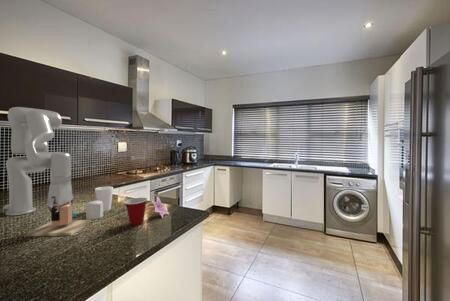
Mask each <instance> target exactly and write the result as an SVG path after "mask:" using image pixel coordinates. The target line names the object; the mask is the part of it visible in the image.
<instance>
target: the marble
mask: <svg viewBox="0 0 450 301" xmlns="http://www.w3.org/2000/svg"><path fill="white" fill-rule="evenodd" d="M75 217H77V212H76V211H73V210H72V219H73V218H75Z"/></svg>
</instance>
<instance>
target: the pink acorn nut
mask: <svg viewBox="0 0 450 301" xmlns="http://www.w3.org/2000/svg"><path fill="white" fill-rule="evenodd" d="M55 208H57V207H55ZM58 212H60V220H59V221H51V220H50V222H51V224H52V225H53V226H57V225H64V224H68V223H70V222H72V220H73V218H72V212H73V205H72V206H71V204H70V203H66V204H63V205H61V206H60V208H59V211H58Z"/></svg>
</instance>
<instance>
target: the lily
mask: <svg viewBox="0 0 450 301" xmlns="http://www.w3.org/2000/svg"><path fill="white" fill-rule="evenodd" d="M151 202H152V204H153V205H154V207H155V208H154V211H153V213H152V216H154V214H155V213H159V215H160V216H161V218H162V219H163V218H164V214H166V215H170V213H169V211H168V209H166V208H165V205H166V204H164V203H162V202H161V199H160V197H159V196H156V201H154V200H152V201H151Z"/></svg>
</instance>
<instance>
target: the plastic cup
mask: <svg viewBox="0 0 450 301" xmlns="http://www.w3.org/2000/svg"><path fill="white" fill-rule="evenodd" d="M147 201H148V197H136V198H135V197H134V198H130V199H127V200H125V201H124V202H123V204H124V205H125V207H126V211H127V214H128V219H129V224H130V225H131V226H140V225H142V224H143V222H144V218H145V213H146V206H147Z"/></svg>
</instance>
